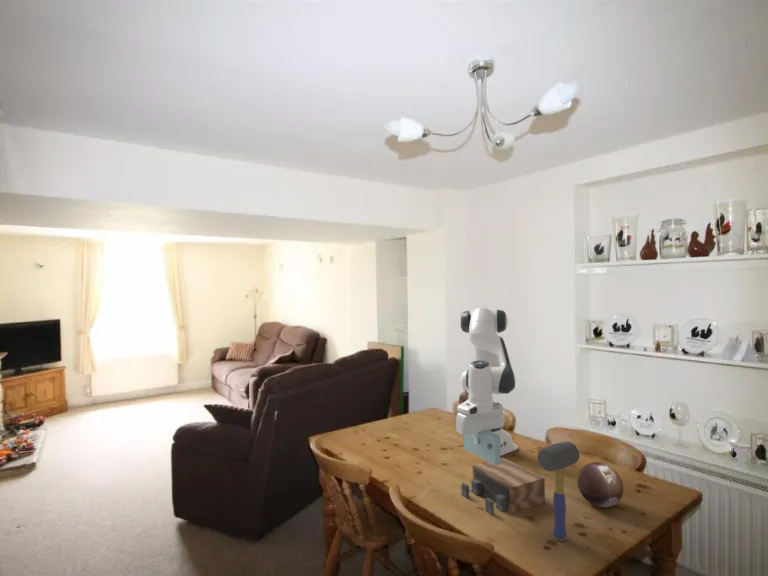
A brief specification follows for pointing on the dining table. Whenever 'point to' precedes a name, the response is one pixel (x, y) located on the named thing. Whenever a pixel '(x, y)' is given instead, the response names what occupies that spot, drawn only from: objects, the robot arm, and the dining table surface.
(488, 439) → the door
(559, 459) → the rubber mallet
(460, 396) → the clay figurine
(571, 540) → the dining table surface
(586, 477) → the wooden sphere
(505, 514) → the dining table surface
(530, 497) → the cabinet
